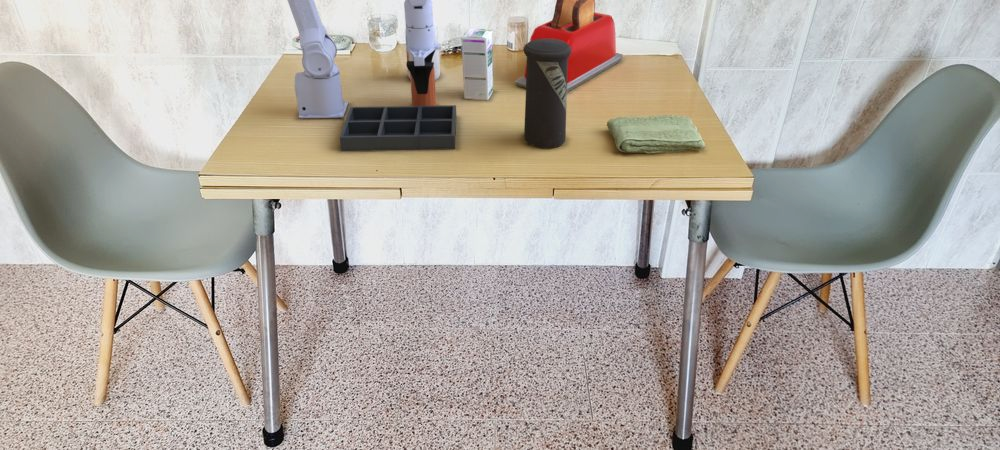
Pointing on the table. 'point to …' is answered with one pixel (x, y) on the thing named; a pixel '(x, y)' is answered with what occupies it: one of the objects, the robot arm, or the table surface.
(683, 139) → the washcloth
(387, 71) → the table surface
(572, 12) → the toaster
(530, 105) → the container
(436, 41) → the milk bottle
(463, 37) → the syrup box
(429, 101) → the jar
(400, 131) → the tray
